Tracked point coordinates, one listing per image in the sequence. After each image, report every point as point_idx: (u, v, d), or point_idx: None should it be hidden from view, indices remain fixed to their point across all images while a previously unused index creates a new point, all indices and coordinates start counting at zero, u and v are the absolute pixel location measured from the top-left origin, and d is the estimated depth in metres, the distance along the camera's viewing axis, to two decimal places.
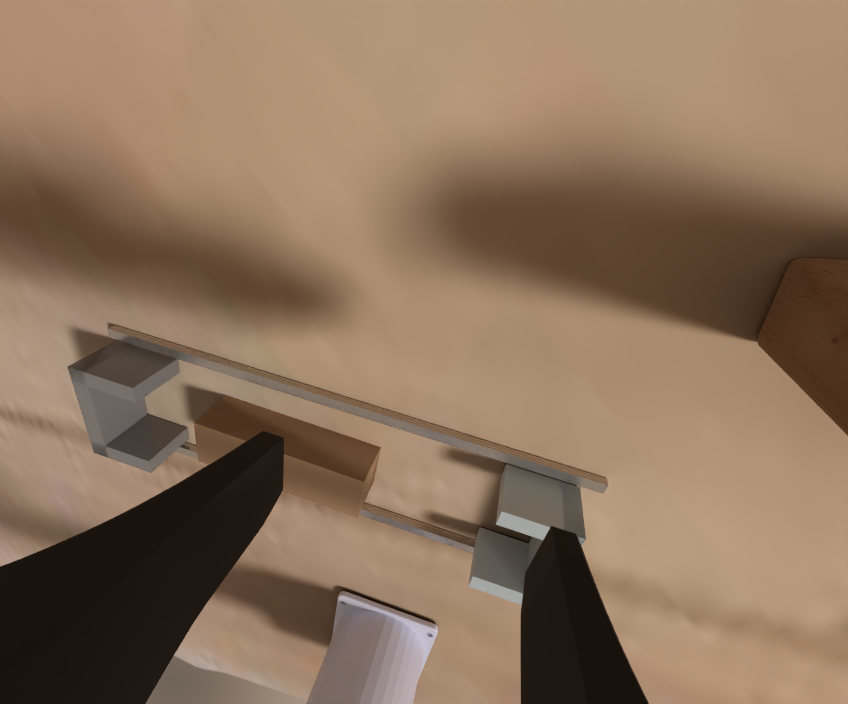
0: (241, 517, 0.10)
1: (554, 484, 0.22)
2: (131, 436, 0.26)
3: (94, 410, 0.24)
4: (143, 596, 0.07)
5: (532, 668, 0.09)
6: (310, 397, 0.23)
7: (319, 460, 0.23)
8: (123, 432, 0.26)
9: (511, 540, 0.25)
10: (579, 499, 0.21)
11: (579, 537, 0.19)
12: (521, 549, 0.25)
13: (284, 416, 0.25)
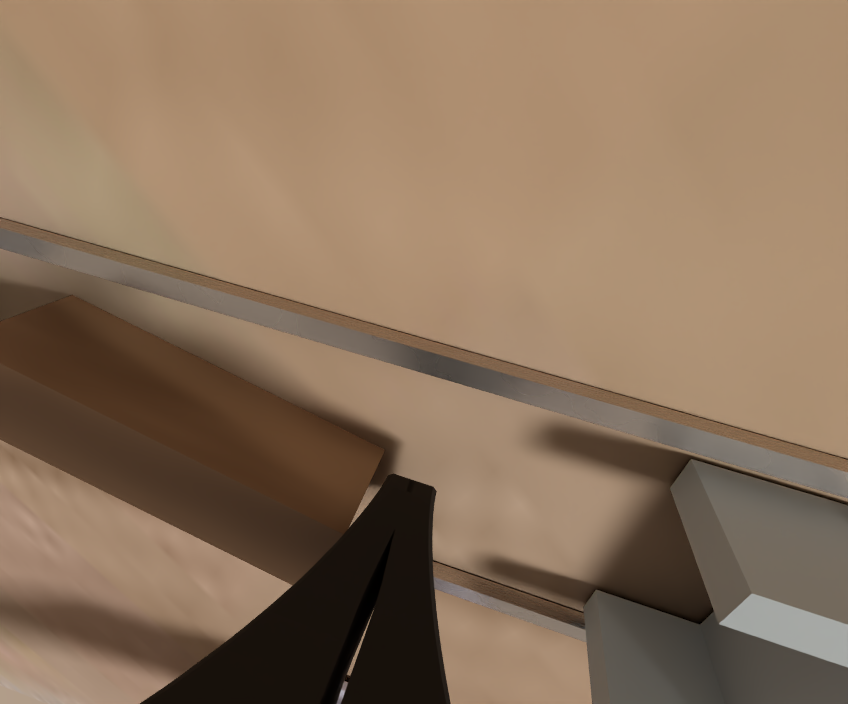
0: (384, 568, 0.09)
1: (821, 508, 0.09)
2: None
3: None
4: (337, 672, 0.07)
5: None
6: (235, 309, 0.10)
7: (248, 469, 0.10)
8: None
9: (665, 618, 0.12)
10: None
11: None
12: (691, 640, 0.12)
13: (189, 360, 0.12)
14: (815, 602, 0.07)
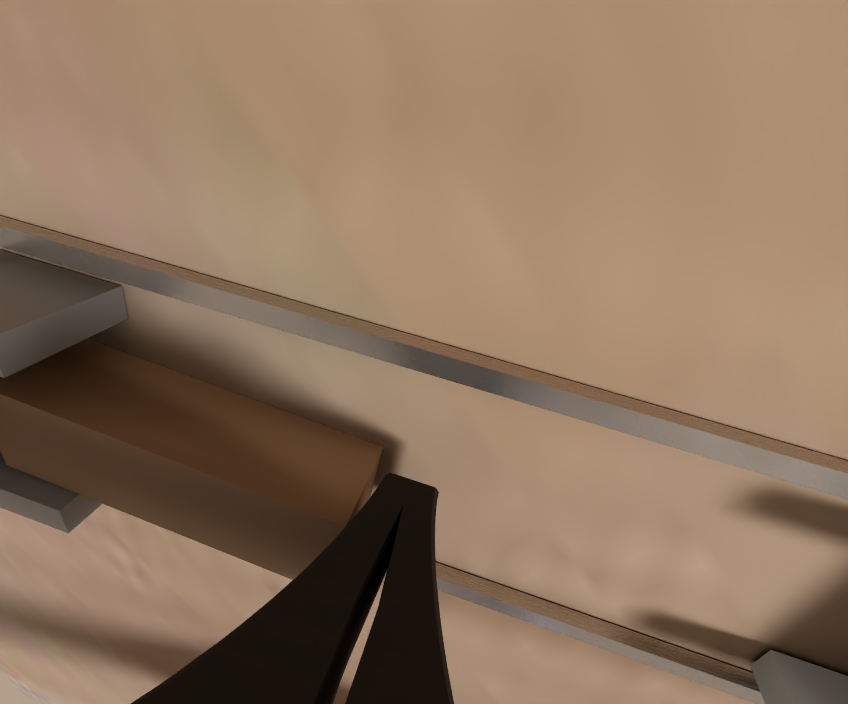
0: (381, 567, 0.09)
1: None
2: None
3: None
4: (333, 670, 0.07)
5: None
6: (432, 366, 0.10)
7: (248, 473, 0.10)
8: None
9: None
10: None
11: None
12: None
13: (189, 379, 0.12)
14: None
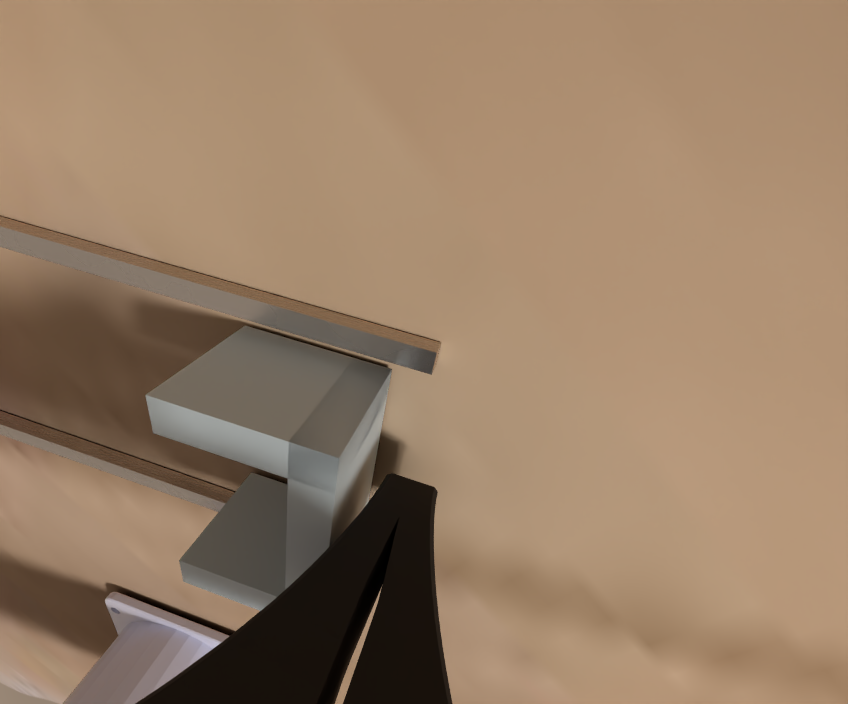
0: (383, 567, 0.09)
1: (333, 361, 0.10)
2: None
3: None
4: (335, 671, 0.07)
5: None
6: None
7: None
8: None
9: None
10: (376, 387, 0.10)
11: (324, 454, 0.08)
12: None
13: None
14: (207, 405, 0.08)
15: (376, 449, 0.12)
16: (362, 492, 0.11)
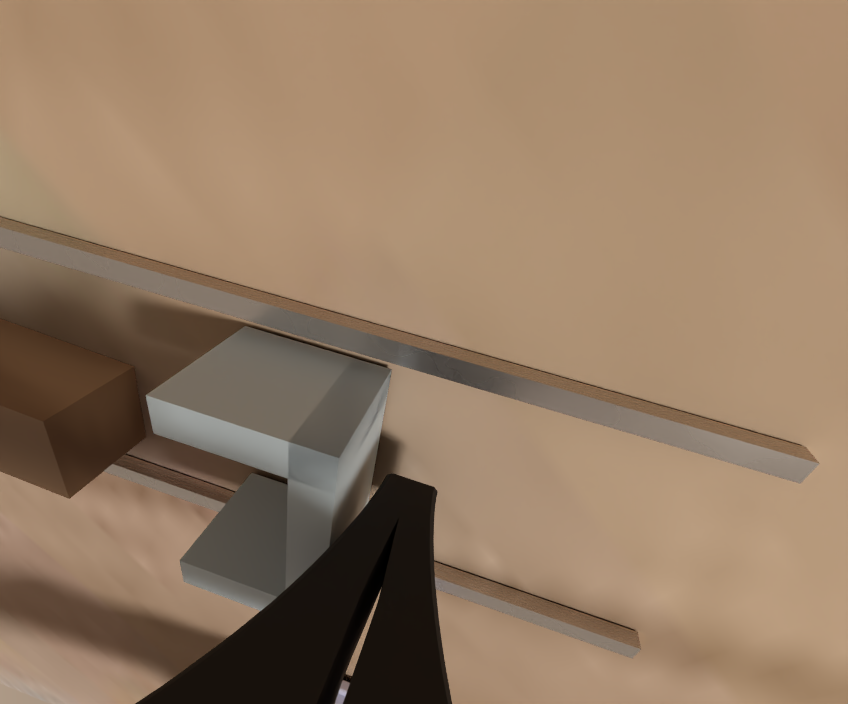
0: (383, 567, 0.09)
1: (333, 361, 0.10)
2: None
3: None
4: (335, 671, 0.07)
5: None
6: (121, 275, 0.10)
7: None
8: None
9: None
10: (376, 387, 0.10)
11: (324, 455, 0.08)
12: None
13: None
14: (207, 405, 0.08)
15: (376, 449, 0.12)
16: (362, 492, 0.11)
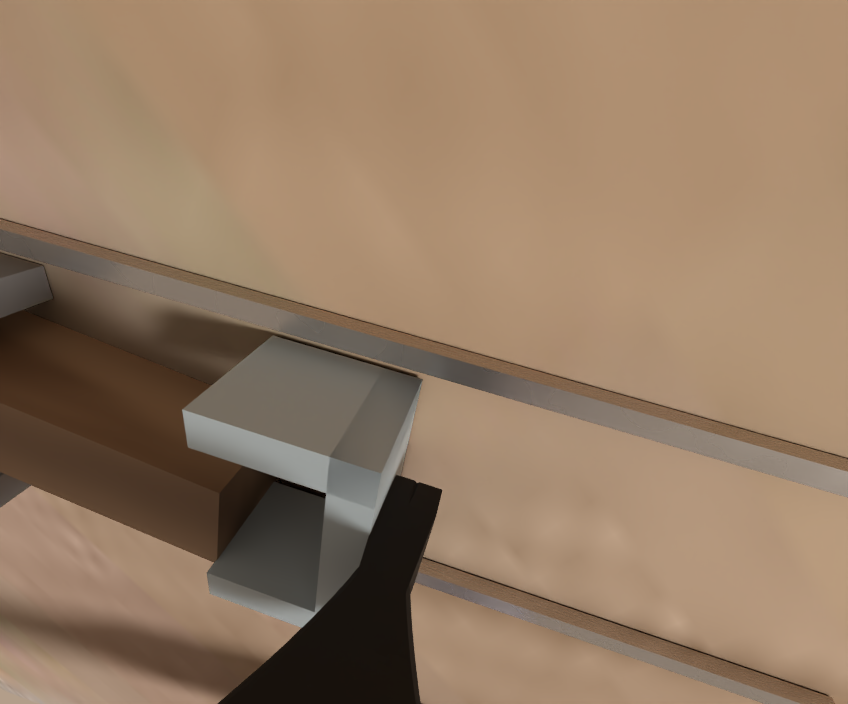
0: (413, 578, 0.09)
1: (364, 371, 0.10)
2: None
3: None
4: None
5: None
6: (335, 339, 0.10)
7: (127, 439, 0.10)
8: None
9: None
10: (409, 398, 0.09)
11: (366, 470, 0.08)
12: None
13: (88, 346, 0.12)
14: (244, 419, 0.08)
15: (403, 459, 0.11)
16: None
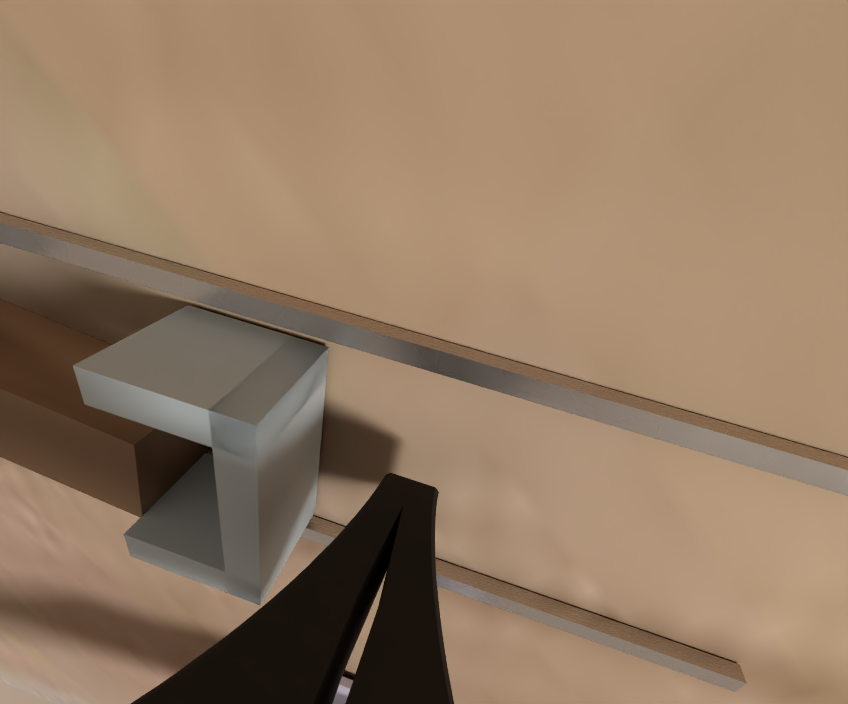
0: (381, 567, 0.09)
1: (271, 338, 0.10)
2: None
3: None
4: (333, 670, 0.07)
5: None
6: (238, 305, 0.10)
7: (52, 394, 0.11)
8: None
9: None
10: (309, 362, 0.10)
11: (242, 422, 0.08)
12: None
13: (28, 313, 0.13)
14: (133, 376, 0.08)
15: (319, 427, 0.12)
16: (305, 469, 0.12)
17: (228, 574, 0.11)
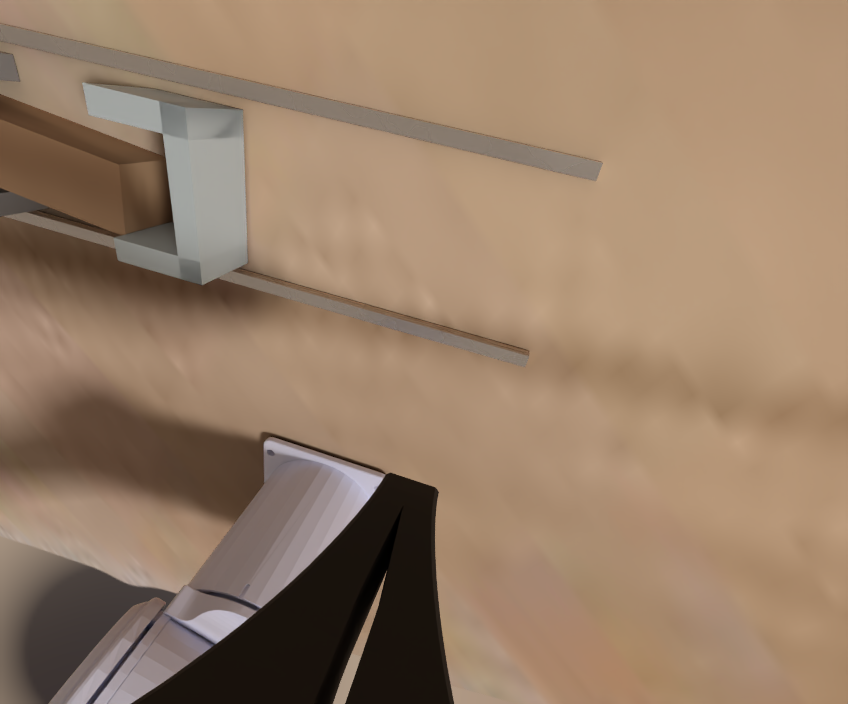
0: (381, 567, 0.09)
1: (205, 102, 0.17)
2: None
3: None
4: (333, 670, 0.07)
5: None
6: (183, 77, 0.16)
7: (67, 140, 0.17)
8: None
9: None
10: (226, 108, 0.16)
11: (177, 106, 0.14)
12: None
13: (49, 113, 0.19)
14: (117, 90, 0.15)
15: (242, 178, 0.18)
16: (232, 203, 0.18)
17: (180, 258, 0.17)
